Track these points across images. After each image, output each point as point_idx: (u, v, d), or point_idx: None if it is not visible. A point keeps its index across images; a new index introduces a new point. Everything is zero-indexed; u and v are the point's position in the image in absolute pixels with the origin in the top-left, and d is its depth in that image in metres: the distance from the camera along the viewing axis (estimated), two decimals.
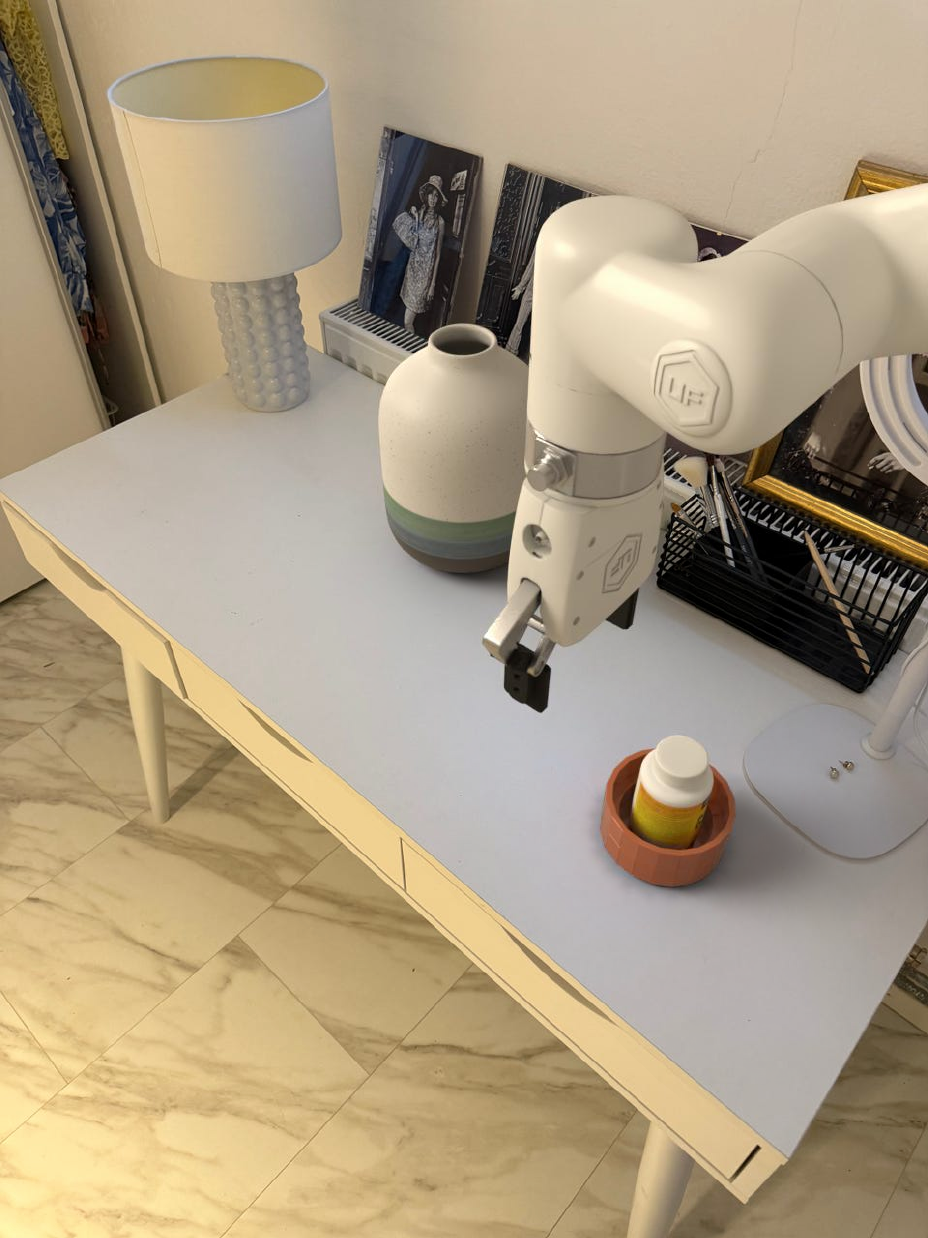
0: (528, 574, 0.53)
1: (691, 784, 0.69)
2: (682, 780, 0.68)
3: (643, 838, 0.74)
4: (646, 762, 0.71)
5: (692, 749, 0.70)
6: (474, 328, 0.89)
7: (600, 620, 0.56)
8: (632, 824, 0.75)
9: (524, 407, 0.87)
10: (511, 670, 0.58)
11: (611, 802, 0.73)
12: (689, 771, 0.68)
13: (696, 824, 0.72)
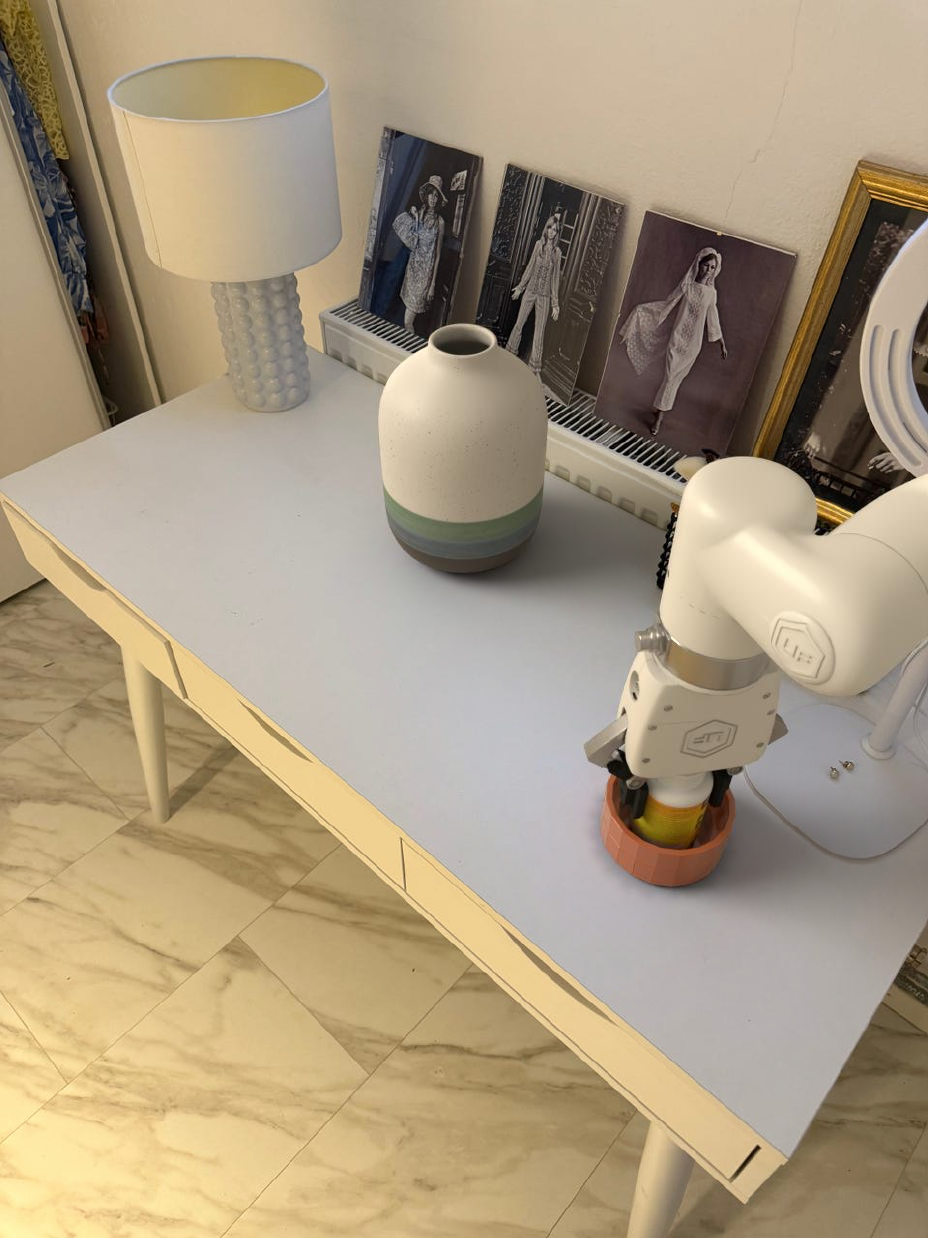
0: (626, 706, 0.64)
1: (691, 784, 0.69)
2: (682, 780, 0.68)
3: (643, 838, 0.74)
4: None
5: None
6: (474, 328, 0.89)
7: (677, 772, 0.66)
8: (632, 824, 0.75)
9: (524, 407, 0.87)
10: None
11: (611, 802, 0.73)
12: None
13: (696, 824, 0.72)
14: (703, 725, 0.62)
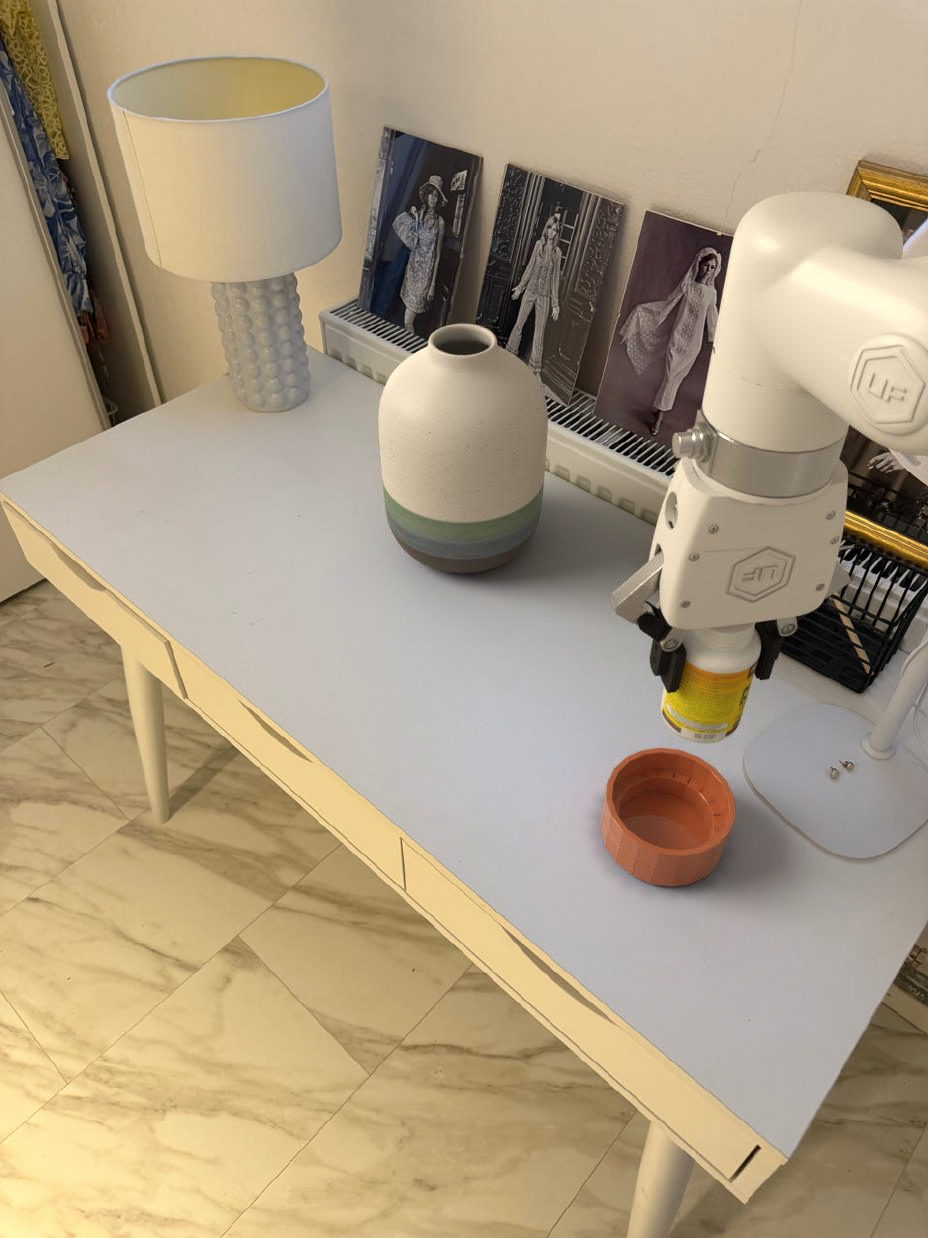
0: (660, 541, 0.54)
1: (736, 644, 0.58)
2: (726, 637, 0.58)
3: (678, 720, 0.63)
4: None
5: None
6: (474, 328, 0.89)
7: (722, 622, 0.55)
8: (665, 706, 0.64)
9: (524, 407, 0.87)
10: None
11: (611, 802, 0.73)
12: (733, 628, 0.58)
13: (741, 698, 0.61)
14: (754, 554, 0.52)
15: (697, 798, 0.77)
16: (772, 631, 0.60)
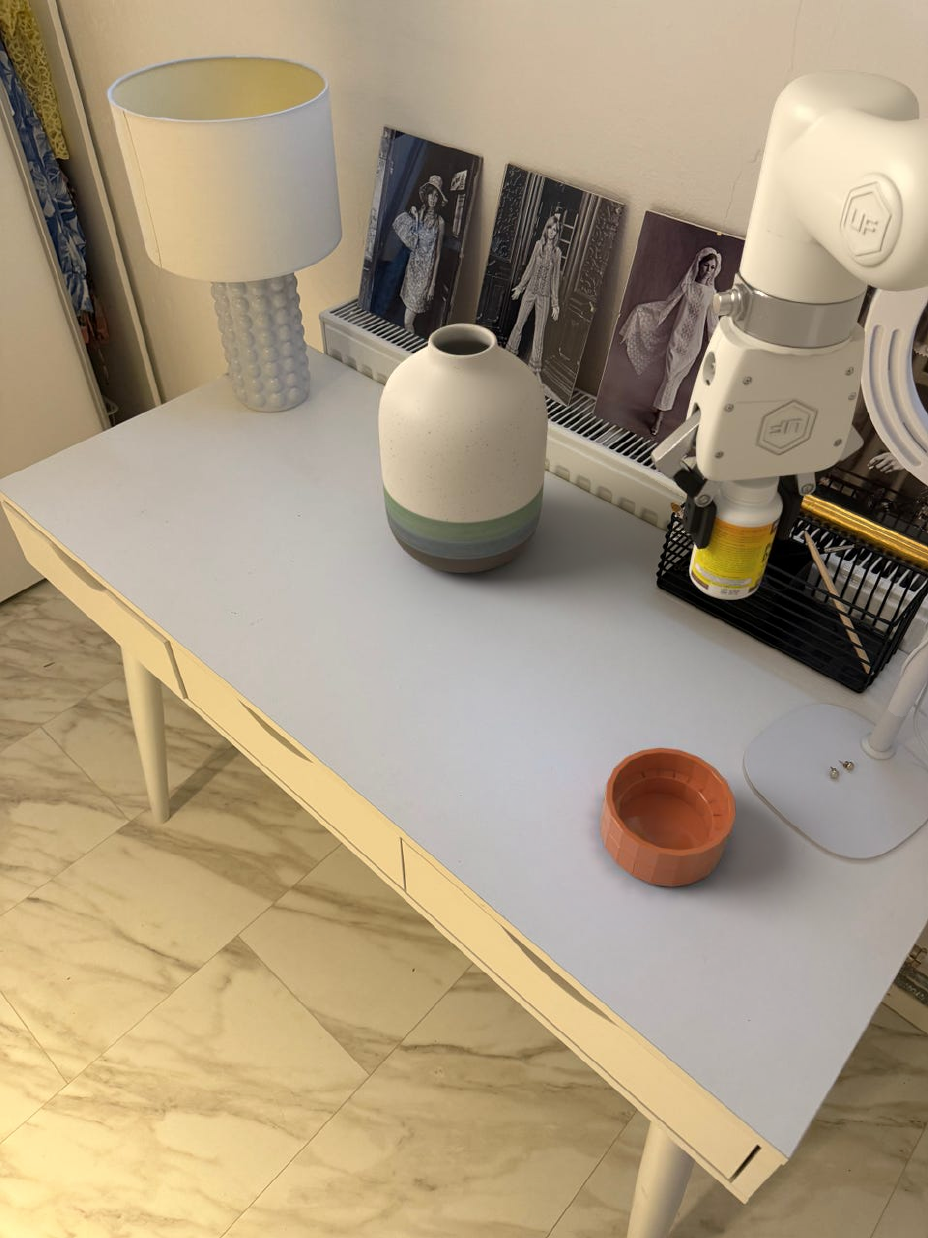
0: (698, 399, 0.61)
1: (762, 499, 0.66)
2: (753, 493, 0.65)
3: (706, 577, 0.71)
4: None
5: None
6: (474, 328, 0.89)
7: (751, 474, 0.63)
8: (694, 566, 0.72)
9: (524, 407, 0.87)
10: (687, 499, 0.68)
11: (611, 802, 0.73)
12: (759, 485, 0.65)
13: (763, 555, 0.69)
14: (782, 406, 0.59)
15: (697, 798, 0.77)
16: (793, 491, 0.67)
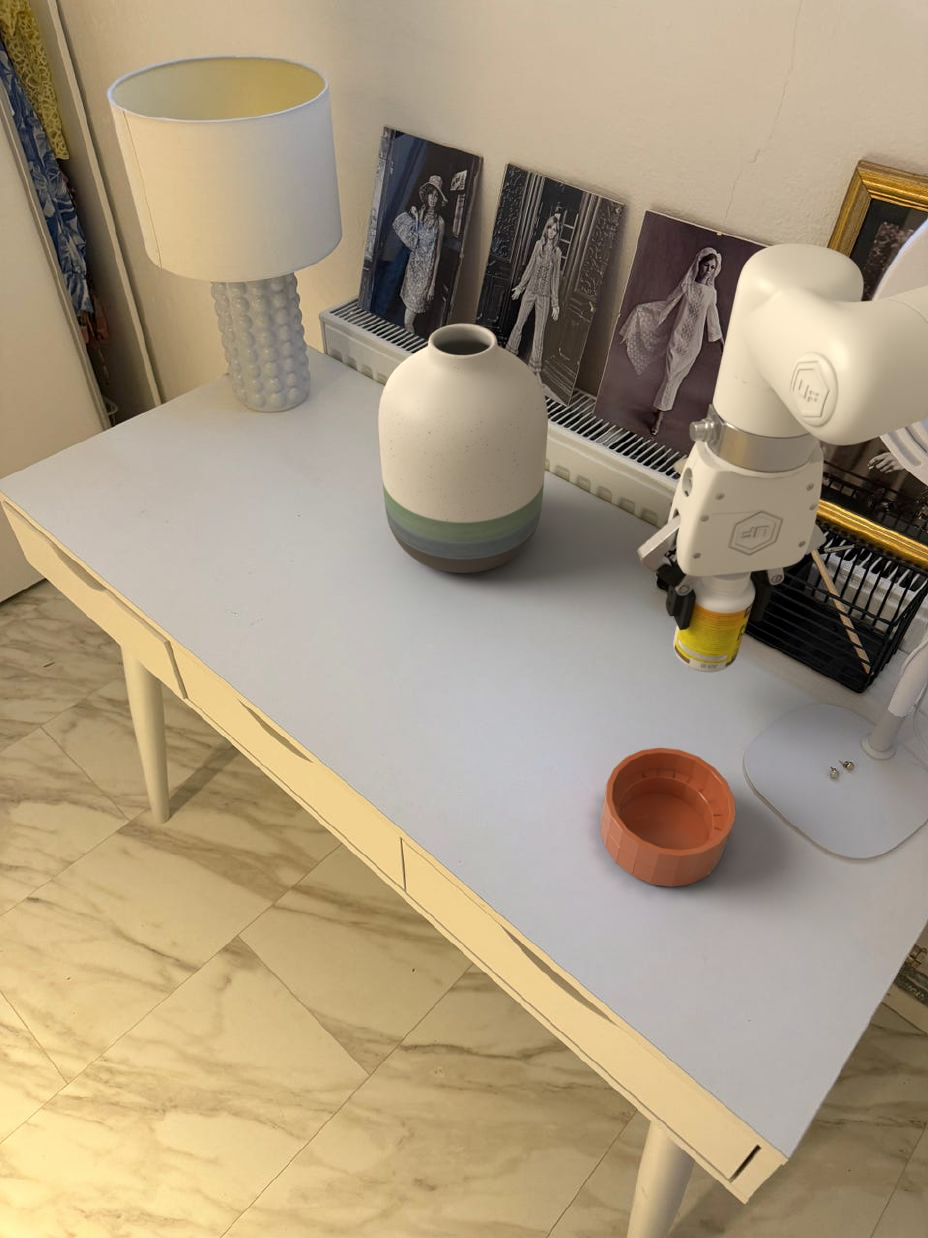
0: (678, 506, 0.70)
1: (736, 589, 0.74)
2: (727, 584, 0.73)
3: (688, 652, 0.79)
4: None
5: None
6: (474, 328, 0.89)
7: (725, 571, 0.71)
8: (677, 642, 0.80)
9: (524, 407, 0.87)
10: (670, 586, 0.76)
11: (611, 802, 0.73)
12: (733, 576, 0.73)
13: (738, 635, 0.77)
14: (751, 516, 0.67)
15: (697, 798, 0.77)
16: (764, 581, 0.75)
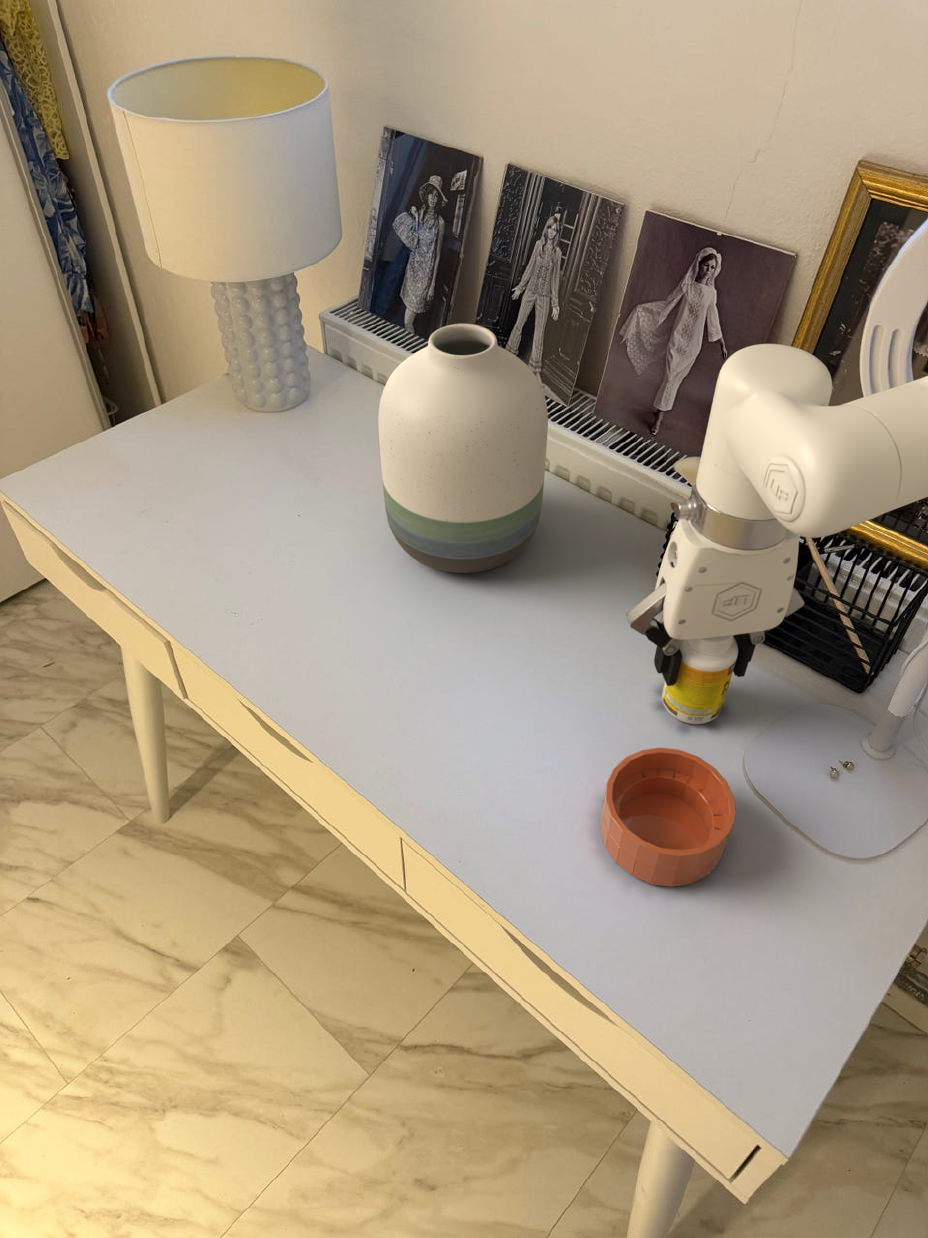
0: (664, 575, 0.75)
1: (719, 649, 0.79)
2: (712, 645, 0.78)
3: (675, 706, 0.84)
4: None
5: None
6: (474, 328, 0.89)
7: (708, 635, 0.76)
8: (665, 695, 0.85)
9: (524, 407, 0.87)
10: (658, 645, 0.81)
11: (611, 802, 0.73)
12: (717, 638, 0.78)
13: (723, 690, 0.82)
14: (732, 587, 0.72)
15: (697, 798, 0.77)
16: (746, 640, 0.80)
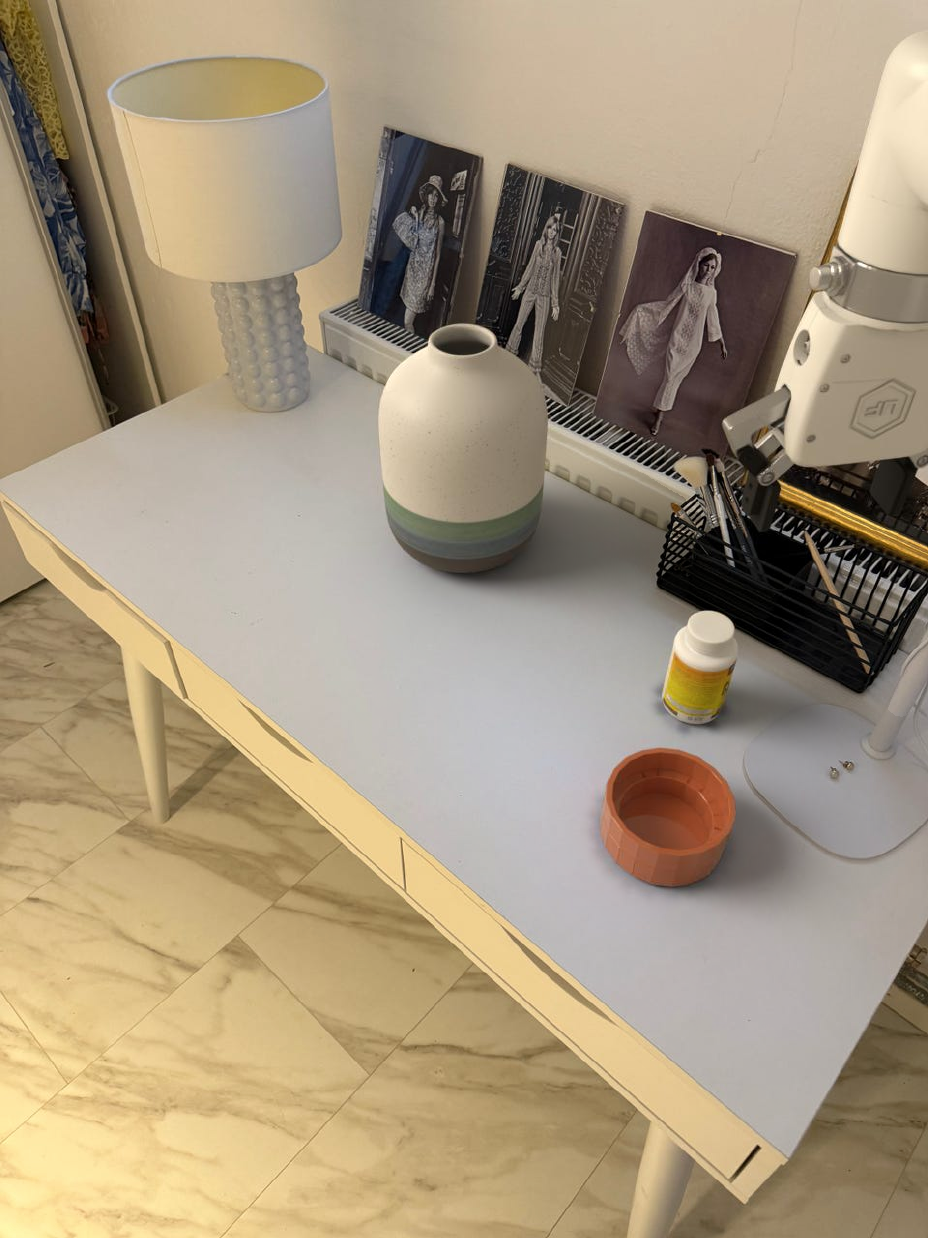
0: (787, 380, 0.59)
1: (719, 650, 0.79)
2: (712, 645, 0.78)
3: (675, 706, 0.84)
4: (679, 635, 0.81)
5: (719, 621, 0.80)
6: (474, 328, 0.89)
7: (842, 459, 0.60)
8: (665, 695, 0.85)
9: (524, 407, 0.87)
10: (748, 478, 0.64)
11: (611, 802, 0.73)
12: (717, 638, 0.78)
13: (723, 690, 0.82)
14: (879, 386, 0.56)
15: (697, 798, 0.77)
16: (907, 464, 0.64)
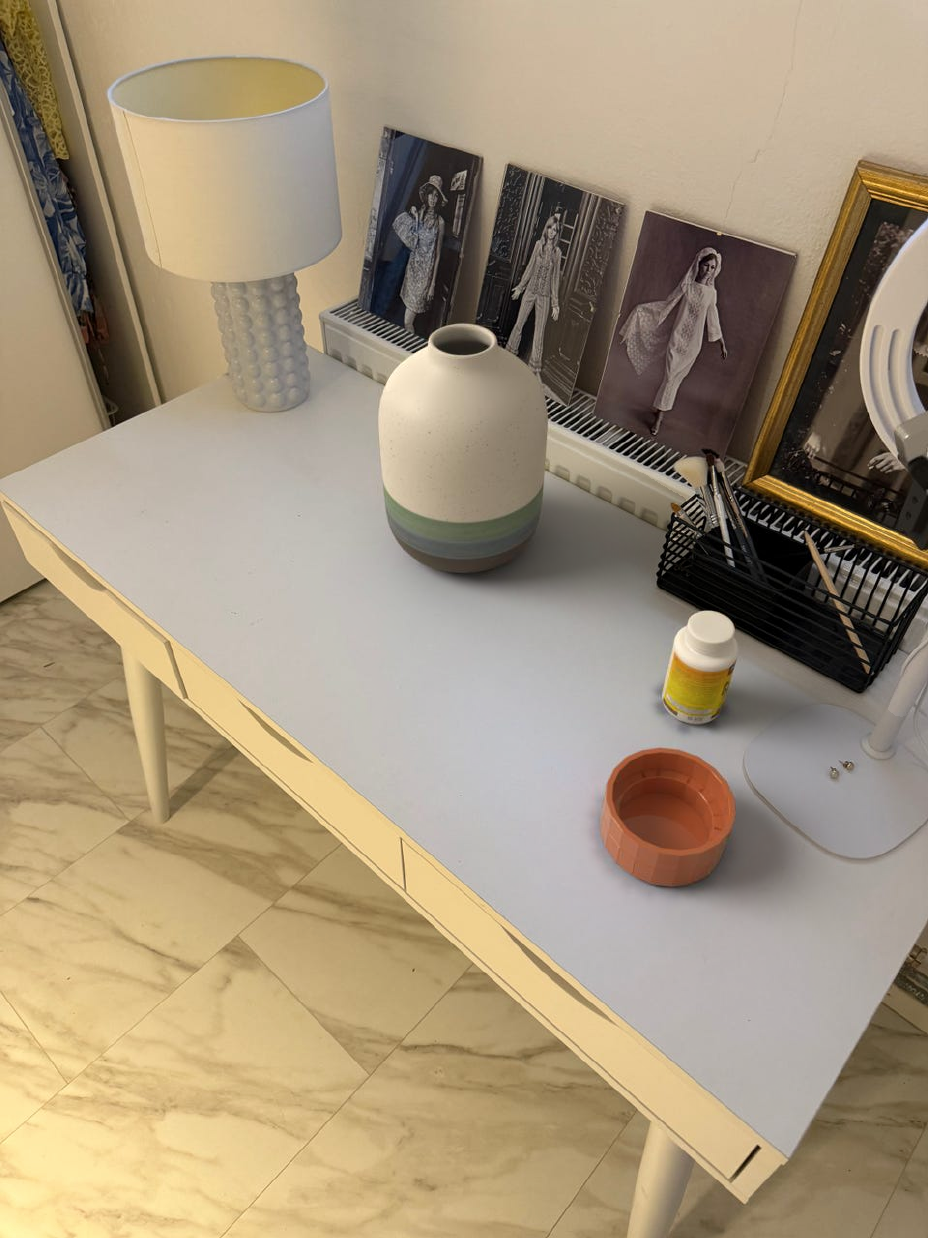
0: None
1: (719, 650, 0.79)
2: (712, 645, 0.78)
3: (675, 706, 0.84)
4: (679, 635, 0.81)
5: (719, 621, 0.80)
6: (474, 328, 0.89)
7: None
8: (665, 695, 0.85)
9: (524, 407, 0.87)
10: (912, 491, 0.58)
11: (611, 802, 0.73)
12: (717, 638, 0.78)
13: (723, 690, 0.82)
14: None
15: (697, 798, 0.77)
16: None
